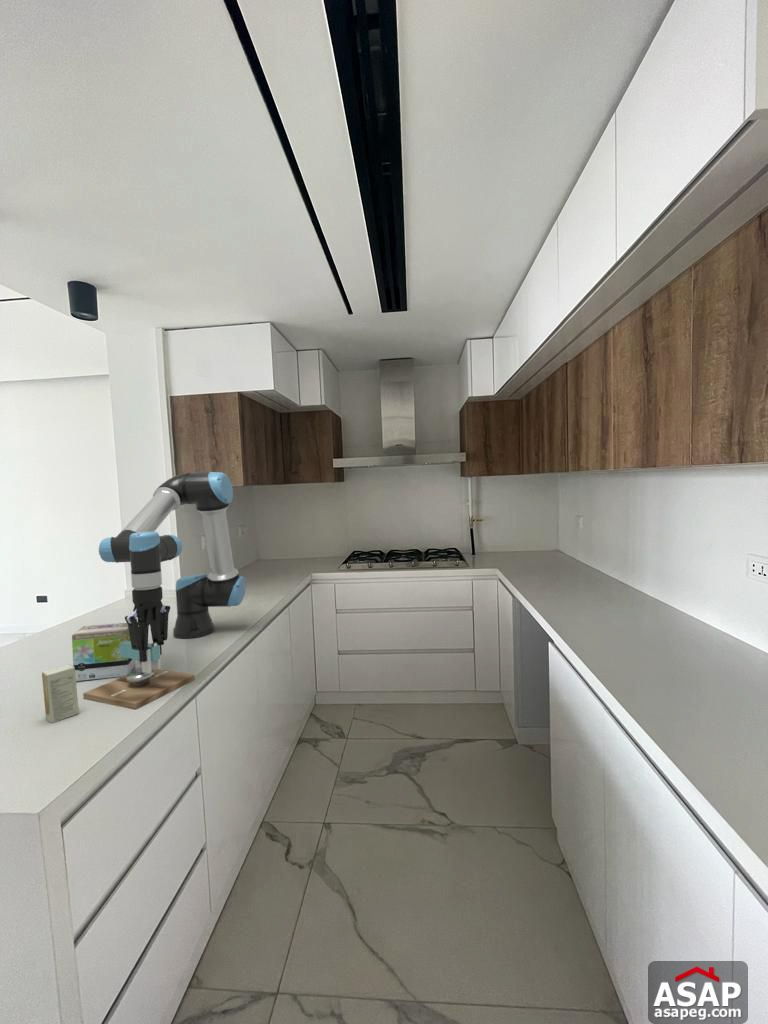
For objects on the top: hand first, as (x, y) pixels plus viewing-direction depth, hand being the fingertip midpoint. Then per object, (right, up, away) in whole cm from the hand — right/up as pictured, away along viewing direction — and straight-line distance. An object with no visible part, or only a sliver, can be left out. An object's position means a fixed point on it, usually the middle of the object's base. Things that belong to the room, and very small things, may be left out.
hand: (151, 669), depth 131 cm
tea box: (-21, -6, +15) cm, 27 cm away
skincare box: (-16, -7, -14) cm, 22 cm away
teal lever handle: (-4, -3, +2) cm, 5 cm away
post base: (-4, -6, +2) cm, 8 cm away
